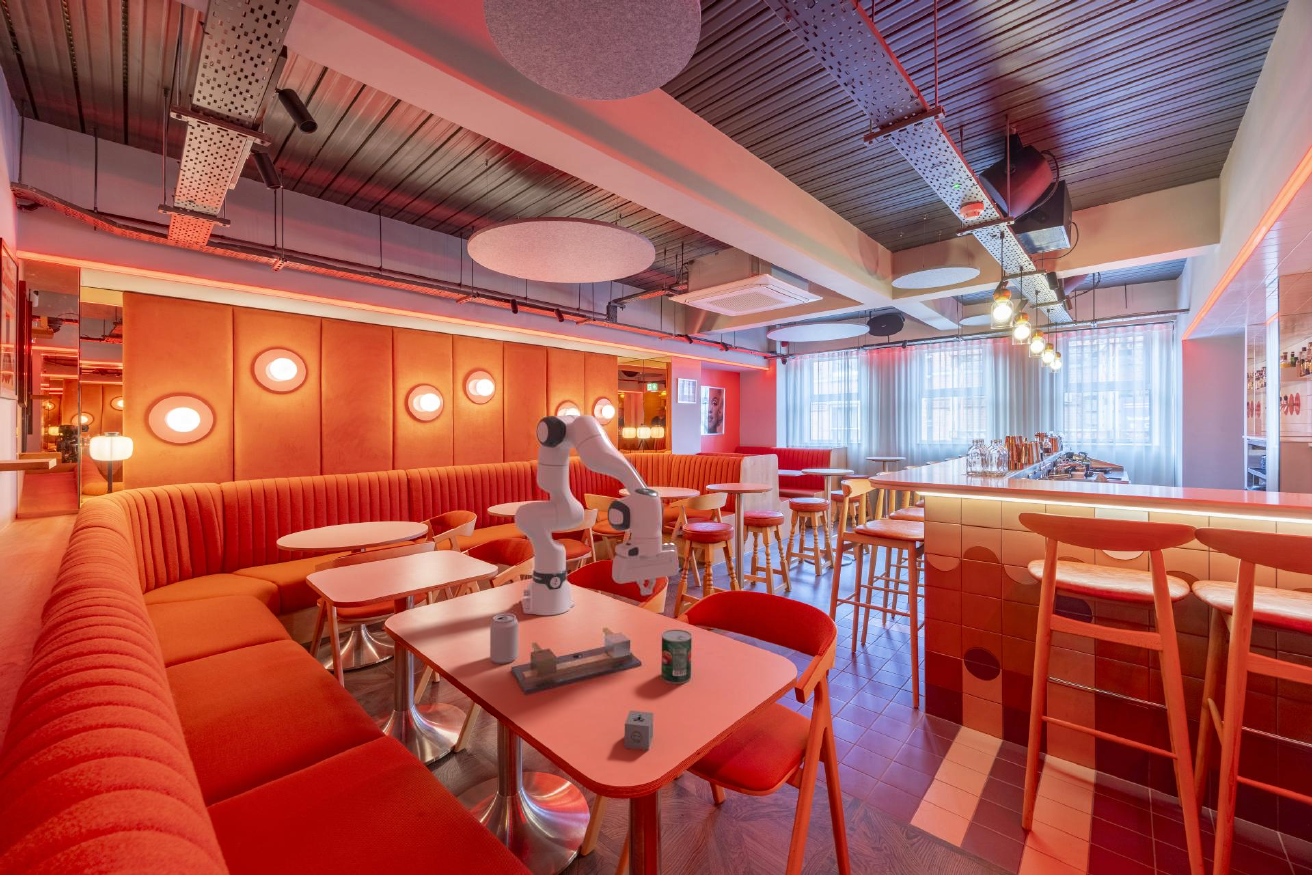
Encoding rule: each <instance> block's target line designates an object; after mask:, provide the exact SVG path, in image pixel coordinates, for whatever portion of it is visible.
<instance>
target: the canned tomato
mask: <svg viewBox="0 0 1312 875" xmlns="http://www.w3.org/2000/svg"><path fill="white" fill-rule="evenodd" d="M692 636H693V635H692V633H691V632H689V631H687V630H683V629H668V630H666V631H663V632H662V633H661V668H660V670H661V674H660V675H661V676H660V677H661V680H663V681H664V682H666V683H668V684H673V685H674V684H675V685H678V684H679V685H680V684H686V683H687V682H689V681H690V680H691V679H692V643H693V642H692Z"/></svg>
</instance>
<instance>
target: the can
mask: <svg viewBox="0 0 1312 875" xmlns="http://www.w3.org/2000/svg"><path fill="white" fill-rule="evenodd" d="M489 628H490V629H489V630H490V632H489V633H490V634H489V636H490V637H489V638H490V639H489V640H490V642H489V643H490V644H489V647H490V648H489V655H490V656H489V658H490V660H491V661H492V662H493V663H495V664H498V665H500V664H501V665H504V664H509V663H511V662H513V661H515V659H517V658H518V655H519V621H518V619H517V616H516V615H515V614H513V613H500V614H497V615H495V616H493V617H492V621H491V622H490V626H489Z"/></svg>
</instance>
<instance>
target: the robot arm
mask: <svg viewBox="0 0 1312 875" xmlns="http://www.w3.org/2000/svg"><path fill="white" fill-rule="evenodd" d="M536 438H537V440H538V441H539V449H538V456H537V468H536V469H537V470H536V472H537V473H536V483H537V486H538V488H540V489H541V490H543V491H544V492H546V493H549V497H550V498H549V500H546V501H545V500H544V501H531V502H528V503H526V504H522V505H519V506H518V507H517V509H516V511H515V513H514V523H515V527H516V528H517V530H518V531H519V532H521V533H522V534H523V535H525V536H526V537H527V538H528V540H529V542H530V543H531V545H532V550H533V560H534V567H533V568H534V569H533V572H532V580H531V582H529V584H528V585H527V589H524V590H523V597H522V598H521V599H520V602H521V608H522V610H523V612H522V613H523V614H527V615H528V614H529V615H530V614H531V615H537V616H555V615H561V614H563V613H566V612H568V611H569V610H570V609H571V608H573V607H574V606H575V605H576V602H575V601H574V600H572V589H571V587H572V586H571V583H570V582H569V581H568V580H567V579H568V569H567V565H566V564H567V557H566V555H567V550H566V548H565V546H564V545H563V544H562V543H561V542H559V541H557V540H555V539H553V534H552V533H553V532H558V531H565V530H571V529H574V528H576V527H579V526H580V525H581V524H582V523H583V521H584V519H585V510H584V506H583V505H582V503H581V502H580V501H578V499H576V497H574V495H573V493H572V491H571V489H570V478H569V477H570V476H569V475H570V453H571V450H572V448H575V450H576V453H577V454H578V457H579V458H580V461H581V462H582V464H583V466H585V467H586V468H587V469H588V470H590V471H592V472H594V473H597V474H602V475H606V476H609V477H612V478H614V479H616V480H617V481H619V482H621V484H623V486H624V488H625V489H626V491H627V492H628V494H629V495H626V496H624V497H621V498H618V499H614V500H612V501H611V503H610V504H609V506H608V509H607V521H608V523H609V526H611V528H612V529H614V530H615V531H618V532H627V531H630V532H631V535H630V539H628V540H626V541H624V542H622V543H620V544H617V545H616V546H615V547H614V551H615V553H616V555H615V556H614V558H613V561H612V570H611V573H612V574H611V577H612V579H613V581H614V582H615V583H617V584H619V585H622V584H626V583H633V582H636V583H637V585H638V586H639V588H640V595H641V596H648V595H652V594H653V588H654V587H655V584H656V582H657V579H659V578H666V577H671V576H677V575H678V573H679V572H680V571H679V570H680V567H679V566H680V564H679V558H678V552H679V551H678V547H677V546H678V545H676V544H674V543H673V542H668V543H663V534H662V530H661V525H662V522H663V517H664V513H665V512H664V506H663V504H662V500H661V495H660V494H659V492H658V491H656V490H655V489H651V488H649V487H648V485H647V484H646V483H645V481H644V479H643V478H642V476H641V475H640V474H639V472H638V471H637V469H636V468H635V467H634V465H633V463H632V462H631V461H630V460H629V459H628V458H627V457H626V456H624V455H623V454H622V453H621V452H620V451H619V450H618V449H617V448H616V447H615V445H614V444H613V443H612V441H611V440H610V438H609V436H608V434H607V432H606V430H605V429H604V427H603V425H602V424H601V423H600V422H599V420H598V419H597V418H596V417H595V416H593V415H591V414H583V415H574V414H568V415H555V416H554V415H549V416H545V417H542V418H541V419H540V420H539V422H538V424H537V426H536ZM645 580H648V585H647V586H646V587H645V585H644V584H646V582H645Z"/></svg>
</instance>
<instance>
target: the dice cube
mask: <svg viewBox="0 0 1312 875" xmlns="http://www.w3.org/2000/svg"><path fill="white" fill-rule="evenodd" d="M628 712H629V713H628V714H627V718H626V719H625V722H624V748H626V749H634V750H642V751H643V750H644V751H649V750H650V749H651V748H650V747H651V743H652V740H653V737H654V712H650V711H649V712H648V711H639V710H629V711H628Z"/></svg>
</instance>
